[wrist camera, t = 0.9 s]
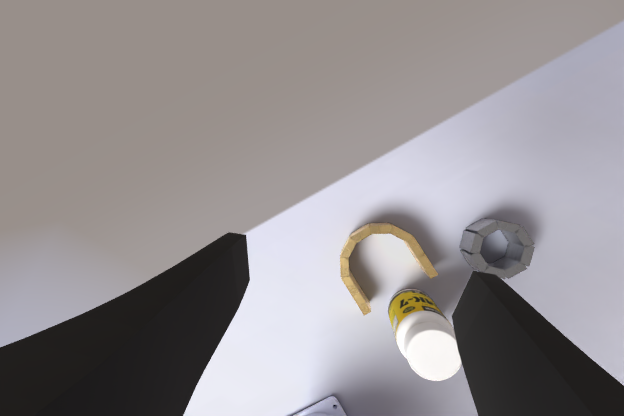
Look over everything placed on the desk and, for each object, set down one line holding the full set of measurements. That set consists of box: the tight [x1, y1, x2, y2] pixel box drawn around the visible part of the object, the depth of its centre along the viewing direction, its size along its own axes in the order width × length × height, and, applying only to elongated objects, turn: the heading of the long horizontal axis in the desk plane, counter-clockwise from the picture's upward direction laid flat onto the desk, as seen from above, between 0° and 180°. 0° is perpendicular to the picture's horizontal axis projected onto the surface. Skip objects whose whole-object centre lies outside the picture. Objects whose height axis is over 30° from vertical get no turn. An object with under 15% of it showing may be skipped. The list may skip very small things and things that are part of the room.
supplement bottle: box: [388, 289, 462, 381], centre depth 24 cm, size 5×5×8 cm
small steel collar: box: [460, 218, 535, 279], centre depth 26 cm, size 5×5×2 cm
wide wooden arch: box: [340, 223, 438, 315], centre depth 27 cm, size 7×8×2 cm
